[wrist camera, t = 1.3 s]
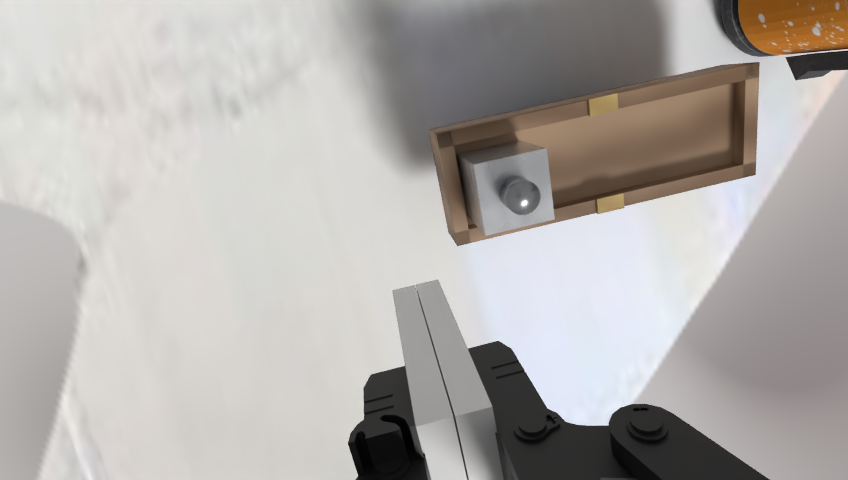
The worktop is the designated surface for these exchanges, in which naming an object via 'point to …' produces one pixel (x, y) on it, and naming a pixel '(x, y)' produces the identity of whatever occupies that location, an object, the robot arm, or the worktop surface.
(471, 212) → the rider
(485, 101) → the worktop surface
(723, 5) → the canister
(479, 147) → the beam
